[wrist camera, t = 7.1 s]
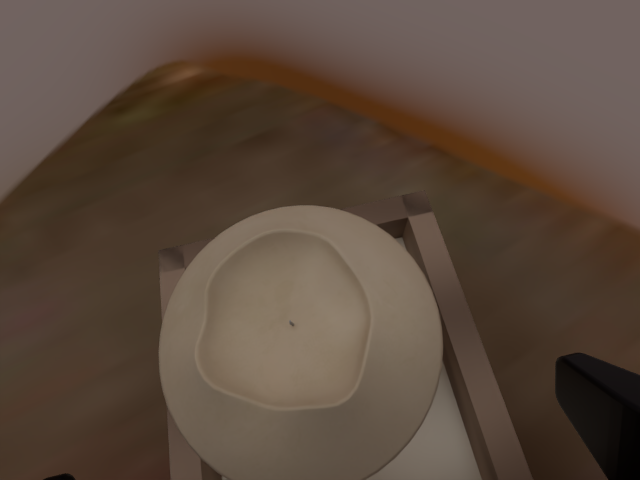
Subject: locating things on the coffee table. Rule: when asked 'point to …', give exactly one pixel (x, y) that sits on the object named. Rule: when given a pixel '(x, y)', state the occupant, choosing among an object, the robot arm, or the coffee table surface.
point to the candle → (300, 348)
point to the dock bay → (455, 379)
